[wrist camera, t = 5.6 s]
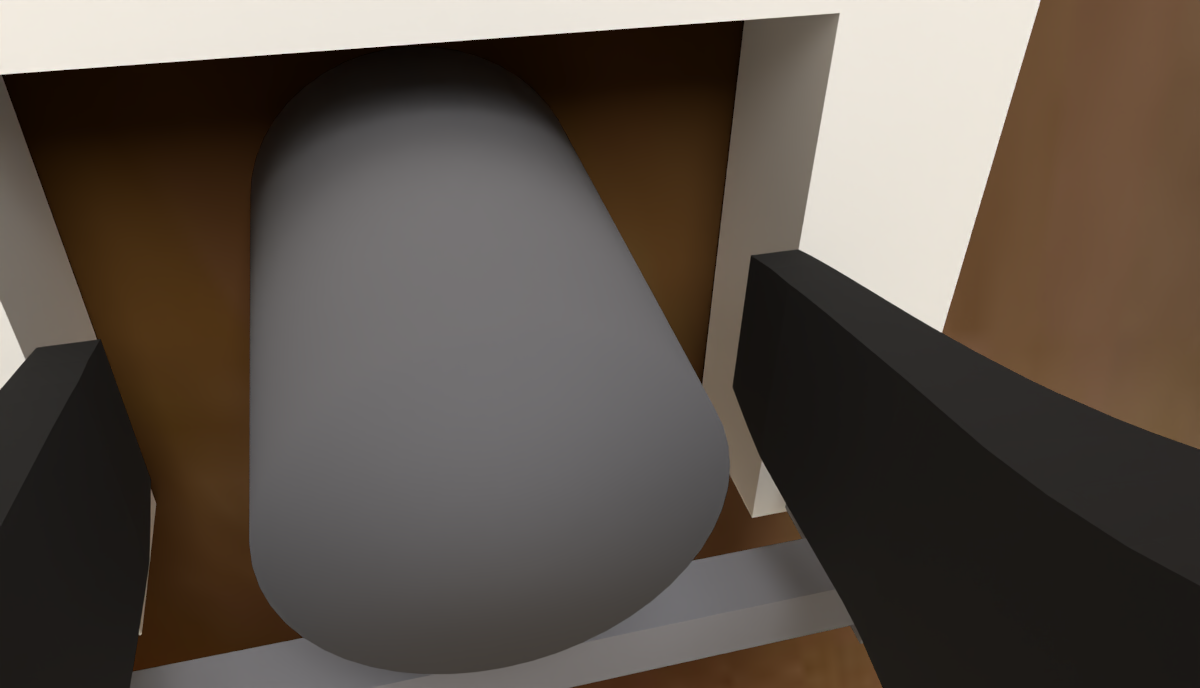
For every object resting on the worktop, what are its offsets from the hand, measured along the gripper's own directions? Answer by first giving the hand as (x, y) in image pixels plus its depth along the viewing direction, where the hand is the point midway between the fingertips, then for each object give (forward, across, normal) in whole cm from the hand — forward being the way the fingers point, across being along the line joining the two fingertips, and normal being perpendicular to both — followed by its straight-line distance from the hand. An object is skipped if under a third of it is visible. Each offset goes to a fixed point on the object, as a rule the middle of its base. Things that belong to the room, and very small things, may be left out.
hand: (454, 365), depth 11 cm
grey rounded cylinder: (+3, 0, 0) cm, 3 cm away
